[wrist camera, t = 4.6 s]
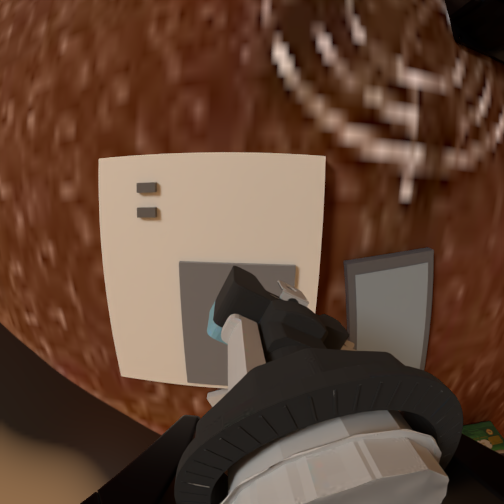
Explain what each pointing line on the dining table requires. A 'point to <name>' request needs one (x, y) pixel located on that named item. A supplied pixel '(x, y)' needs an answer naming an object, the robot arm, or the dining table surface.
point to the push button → (313, 413)
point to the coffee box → (485, 435)
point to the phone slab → (391, 304)
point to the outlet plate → (200, 249)
